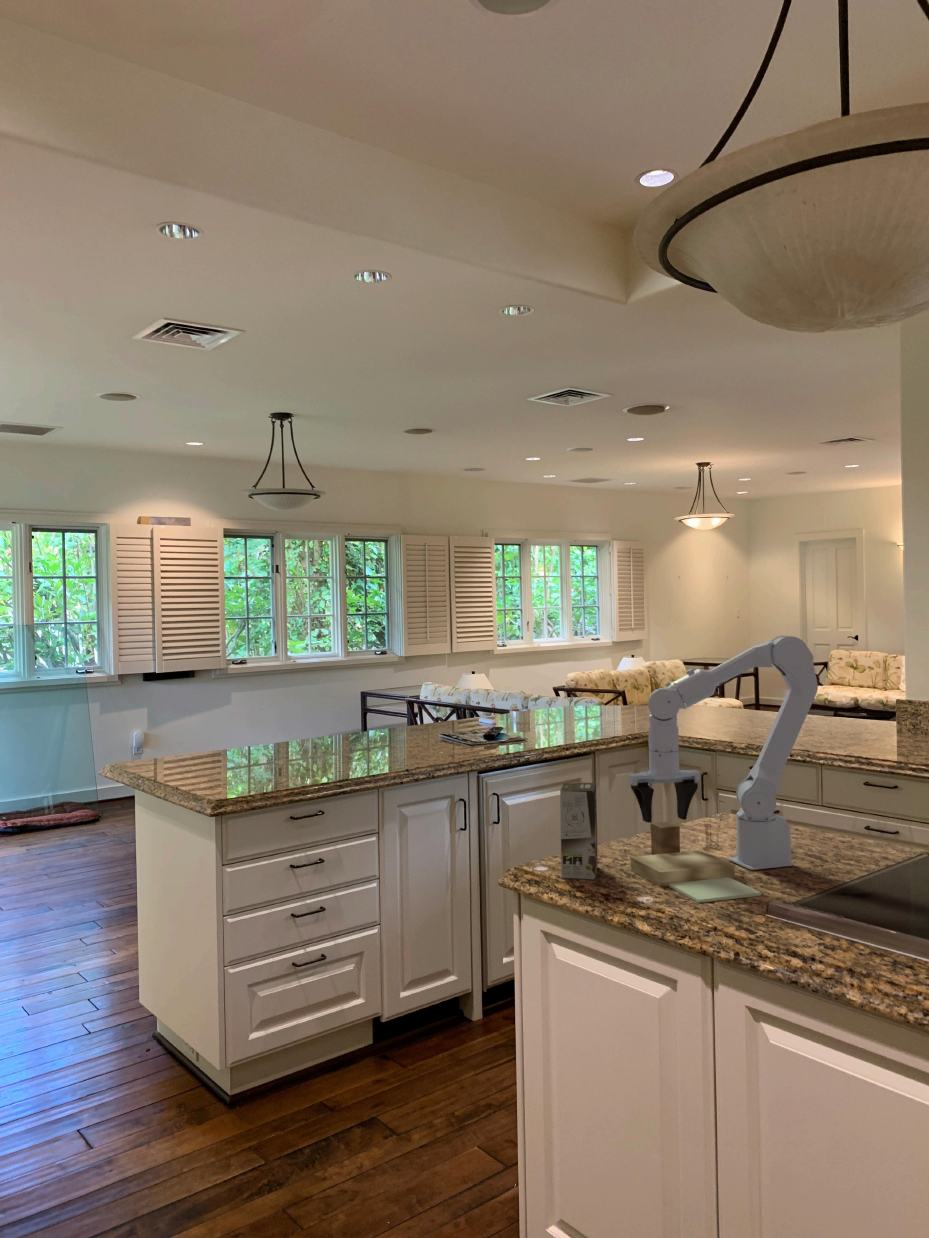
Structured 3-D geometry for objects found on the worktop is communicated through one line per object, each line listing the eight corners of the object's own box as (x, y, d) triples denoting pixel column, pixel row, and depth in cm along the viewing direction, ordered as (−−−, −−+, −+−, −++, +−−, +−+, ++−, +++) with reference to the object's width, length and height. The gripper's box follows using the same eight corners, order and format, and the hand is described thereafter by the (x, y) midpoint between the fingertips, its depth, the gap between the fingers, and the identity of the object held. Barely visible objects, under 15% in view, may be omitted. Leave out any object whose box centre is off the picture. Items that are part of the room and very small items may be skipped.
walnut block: (669, 857, 174) (669, 821, 174) (680, 862, 170) (679, 826, 170) (651, 858, 173) (650, 823, 173) (661, 864, 169) (661, 827, 169)
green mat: (728, 879, 158) (728, 877, 158) (761, 895, 149) (761, 892, 149) (669, 886, 155) (669, 883, 155) (698, 902, 145) (698, 899, 145)
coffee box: (596, 880, 159) (594, 790, 160) (560, 878, 161) (559, 790, 161) (598, 866, 168) (597, 782, 168) (564, 865, 170) (563, 781, 170)
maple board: (701, 862, 169) (701, 849, 169) (734, 878, 159) (734, 864, 159) (631, 870, 165) (630, 856, 165) (660, 886, 155) (659, 872, 155)
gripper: (686, 745, 178) (686, 813, 178) (620, 749, 174) (621, 818, 174) (705, 750, 171) (705, 820, 171) (637, 754, 167) (638, 826, 167)
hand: (664, 819), depth 172 cm, fingers open, 7 cm apart
